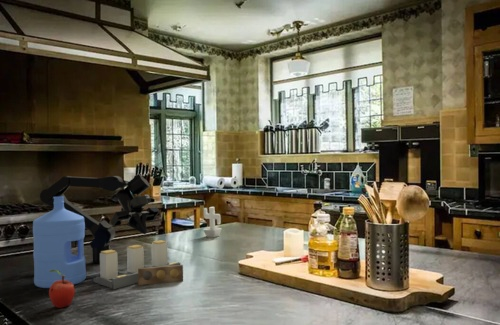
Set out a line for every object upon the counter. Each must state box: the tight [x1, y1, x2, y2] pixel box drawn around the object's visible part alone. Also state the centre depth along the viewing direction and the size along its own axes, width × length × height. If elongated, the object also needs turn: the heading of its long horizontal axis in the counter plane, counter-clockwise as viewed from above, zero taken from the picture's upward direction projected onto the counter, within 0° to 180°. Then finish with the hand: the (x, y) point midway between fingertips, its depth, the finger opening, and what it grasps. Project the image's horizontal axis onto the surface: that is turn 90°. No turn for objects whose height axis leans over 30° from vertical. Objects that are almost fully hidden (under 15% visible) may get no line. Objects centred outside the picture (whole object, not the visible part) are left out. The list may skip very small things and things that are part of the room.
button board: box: [93, 261, 181, 290], centre depth 144 cm, size 12×26×3 cm, turn 138°
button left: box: [99, 249, 119, 280], centre depth 138 cm, size 4×4×9 cm
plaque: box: [137, 264, 184, 286], centre depth 136 cm, size 14×2×5 cm, turn 103°
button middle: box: [126, 244, 145, 273], centre depth 145 cm, size 4×4×9 cm
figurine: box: [202, 206, 223, 238], centre depth 217 cm, size 7×9×15 cm
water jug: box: [32, 196, 87, 289], centre depth 139 cm, size 16×16×28 cm
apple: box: [48, 270, 76, 309], centre depth 115 cm, size 8×7×10 cm
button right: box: [150, 239, 169, 267], centre depth 153 cm, size 4×4×9 cm
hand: (145, 233), depth 159 cm, fingers closed
